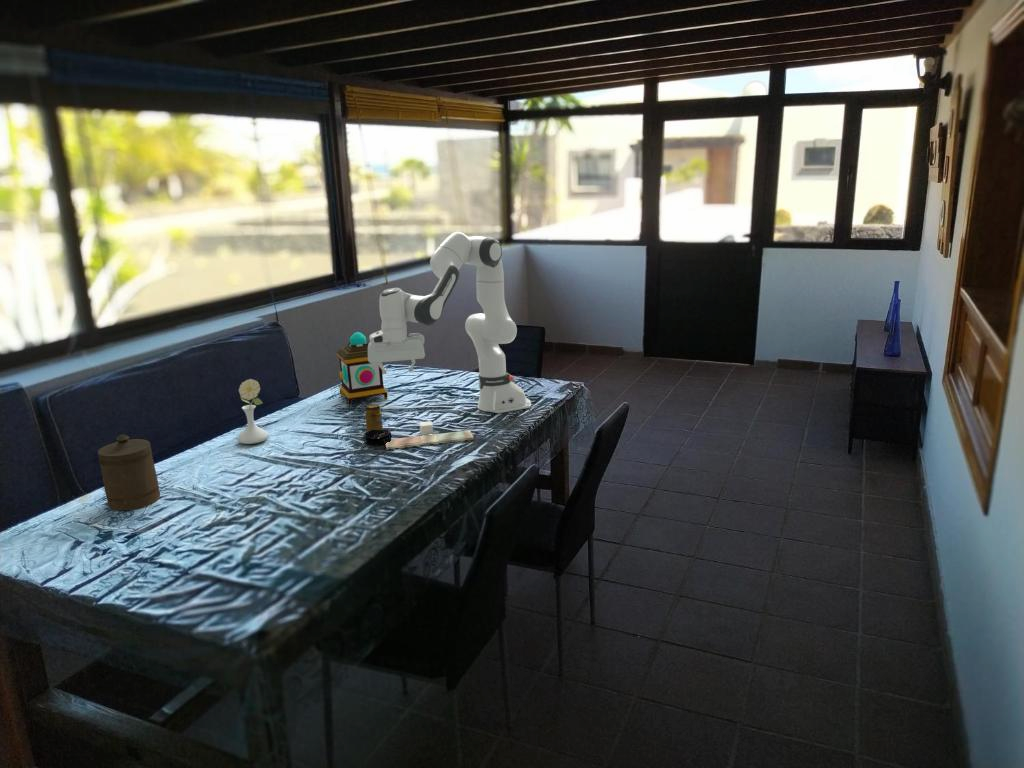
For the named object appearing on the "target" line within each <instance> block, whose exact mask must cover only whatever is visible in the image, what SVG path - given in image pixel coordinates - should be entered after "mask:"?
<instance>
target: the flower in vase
mask: <svg viewBox="0 0 1024 768" xmlns="http://www.w3.org/2000/svg"><path fill="white" fill-rule="evenodd" d="M260 386H261V385H260V384H259V382H258V380H255V379H252V378H249V379H246V380H245V381H243V382H241V384H240V385H239V388H238V392H239V395H240V399H241V401H242V402H245V403H247V405H243V406H242V407H241V409H242V410H243V412H244V413H245V416H246V421H247V425H246V427H245V428H244V430H242V431H241V432H240V433H239V435H238V436H237V438H236V439H237V441H238V443H240V444H243V445H244V444H245V445H253V444H258V443H261V442H264V441H265V440H267V439H268V438H269V435H270V434H269V433H268V432H267V431H266V430H264V429H263V428H261V427H259V426H257V425H256V423H255V420H254V410H255V409H256V407H257V406H259V405H262V404H264V403H263V402H262V400H261V399H260V398H259V397H258V395H259V394H260V391H261V387H260ZM251 400H252V401H251ZM250 401H251V402H250ZM253 403H254V404H253Z"/></svg>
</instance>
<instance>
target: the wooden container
mask: <svg viewBox="0 0 1024 768" xmlns="http://www.w3.org/2000/svg"><path fill="white" fill-rule="evenodd" d="M151 446H152V445H151V442H150V441H149V440H146V439H141V438H140V439H139V438H136V439H135V438H134V439H132V438H131V439H130V436H128V435H126V434H120V435H118V436H117V437H116V441H115V442H112V443H109V444H107V445H105V446H103V447H101V448H100V449H98V451H97V455H98V461H99V465H100V470H101V471H100V472H101V475H102V476H101V477H102V482H103V487H104V492H105V496H106V501H107V506H108V508H109V509H110V508H111V510H112V511H113V510H114V511H119V512H120V511H121V510H122V511H123V512H124V510H126V511H133V510H137V509H141V507H142V508H145V507H147V506H149V504H150V505H151V503H152V504H154V503H155V502H157V501H158V500H159V499H160V497H161V491H160V487H159V481H158V475H157V471H156V467H155V462H154V458H153V457H154V456H153V452H152V447H151ZM156 500H157V501H156ZM153 502H154V503H153ZM144 506H145V507H144Z"/></svg>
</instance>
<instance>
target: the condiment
mask: <svg viewBox="0 0 1024 768" xmlns="http://www.w3.org/2000/svg"><path fill="white" fill-rule="evenodd" d="M380 407H381V405H379V404H377V403H372V404H371V403H370V404H366V406H365V415H364V416H365V427H366V432H367V431H370V430H383V431H384V428H383V427H384V426H383V417H382V416H383V415H382V411H381V408H380ZM363 435H364V434H362V437H364V436H363Z"/></svg>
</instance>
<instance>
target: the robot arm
mask: <svg viewBox="0 0 1024 768" xmlns="http://www.w3.org/2000/svg"><path fill="white" fill-rule="evenodd" d="M502 255H503V249H502V246H501V243H500V241H499V240H498V239H497V238H494V237H490V236H487V237H486V236H482V235H480V236H479V235H474V236H472V235H471V236H467V235H466V234H465V233H463V232H460V231H455V232H453V233H451V234H450V235H449V236H447V237H446V238H445V239H444V240H443V241H442V242H441V244H440V245H439V246H438V247H437V248H436V250H435V251H434V252H433V253H432V255H431V258H430V260H429V265H430V269H431V271H432V272H433V273H432V274H434V275H435V276H436V278H438V279H439V280H438V282H437V284H436V285H435V287H434V289H433V291H432V292H431V293H429V294H427V295H418V294H417V295H416V294H411V293H408V292H405V291H403V290H402V288H400V287H391V288H387V289H384V290H383V291H381V293H380V295H379V316H380V318H381V325H380V328H381V329H380V330H378V331H376V332H372V333H371V334H370V335H369V343H368V361H369V362H370V363H378V365H379V367H380V368H381V369H382V375H387V368H385V367H384V364H383V363H388V362H399V361H411V365H408V372H409V373H411V372H414V366H415V364H416V360H421V359H424V358H425V356H426V353H425V346H424V344H425V342H426V341H425V335H424V334H422V333H420V332H416V333H413V332H412V333H408V330H407V329H408V327H407V322H411V323H417V324H421V325H425V326H433V325H435V324H437V323H438V322H439V321H440V319H441V317H442V314H443V311H444V308H445V306H446V304H447V302H448V300H449V298H450V297H451V295H452V293H453V291H454V289H455V287H456V285H457V283H458V280H459V279H460V271H459V270H460V269H461V268H462V266H463V265H470V266H475V267H476V275H475V276H476V277H475V280H476V282H475V283H476V300H477V303H478V304H479V305H480V306H481V308H482V310H483V311H482V313H481V312H480V313H472V314H470V315H468V317H467V318H466V320H465V324H464V329H465V332H466V334H467V335H468V337H470V339H471V340H472V342H473V345H474V348H475V352H476V354H477V360H478V370H479V371H478V373H479V374H478V388H479V397H478V403H477V409H478V410H480V411H482V412H483V411H484V412H490V413H491V412H492V413H495V414H502V413H506V412H513V411H519V410H524V409H528V408H529V409H530V408H532V402H531V400H530V399H529V398H527V397H526V395H525V392H524V391H525V390H524V389H523V388H522V387H521V386H519V385H517V384H516V383H515V382H513V381H514V379H515V377H514V376H513V375H511V374H510V373H509V372H507V368H506V367H507V364H506V363H507V362H506V361H507V360H506V354H505V353H504V351H503V350H502V348H501V347H500V345H503V344H504V345H506V344H510V343H512V342H513V341H514V340H515V338H516V337H517V332H518V328H517V325H516V323H515V321H514V320H513V319H512V318H511V316H510V314H509V311H508V308H507V304H506V300H505V277H504V276H505V274H504V267H503V260H502ZM499 344H500V345H499ZM382 365H383V367H382Z"/></svg>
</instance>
